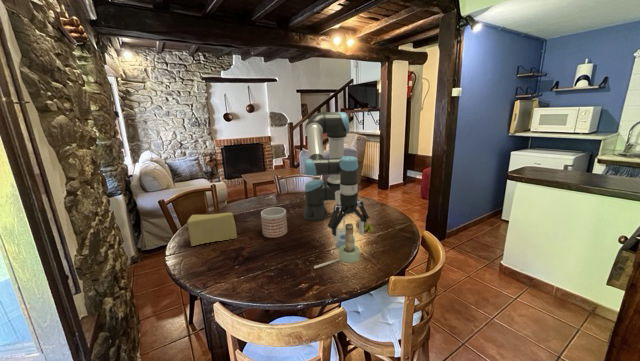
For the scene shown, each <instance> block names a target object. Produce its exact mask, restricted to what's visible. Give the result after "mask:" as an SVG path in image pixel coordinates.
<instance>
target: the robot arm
mask: <svg viewBox="0 0 640 361" xmlns="http://www.w3.org/2000/svg"><path fill="white" fill-rule="evenodd" d="M350 128H351V127H350V119H349V116H348V114H347V112H343V111H332V112H331V111H330V112H319V113H315V114H313V115H312V116H310V118H308V120H307V121H306V123H305V127H304V132H305V135H306V136H307V137H306V138H307V152H308V158H307V159H304V172H305V173H304V174H305V176H310V177H311V176H314V177H315V176H329V177H328V178H327V179H326V181H324V180H323V179H320V178H319V179H312V180H309V181H307V182H306V183H304V184H305V185H304V192H305V194H304V195H305V208H304V210H303V211H304V212H303V218H304V219H305V220H307V221H311V222H313V221H314V222H315V221H316V222H317V221H318V222H319V221H322V220H325V219H326V218H328V210H327V209H326V206H325V202H326V201H335V192H336V191H338V190H340V192H341V193H340V202H341V205H340V206H337V205H334V206H333V210H332V214H331V216H330V219H329V222H328V223H327V227H328V229H331V234H332V235H333V241H334V242H335V244H336V243H338V230H339V228H338V227H339V225H340V224H341V222H343V217H344V216H345V217H346V216H347V215H350V214H353V213H354V214H355V215H356V216H357V217H358V219H361V220H359V230H358V234H360V235H361V236H364V234H365V233H364V232H365V231H364V227H365V225H366V223H365V222H366V221H368V220H369V219H370V215H369V214H368V212H367V210H366V208H365V206H364V201H362V200H361V199H359V198H358V187H359V186H358V185H359V184H358V182H359V180H358V178H359V176H358V174H359V172H358V171H359V163H358V158H357V157H356V156H351V155H346V156H344V154H345V153H344V152H345V151H344V150H345V139H346V138H347V137H348V136H347V134H348V133H351V132H350ZM322 134H323V135H324V134H325V135H326V138H327V139H328V144H329V145H328V147H329V148H328V151H329V152H328V157H329V158H328V157H327V158H326V157H325V151H324V145H323V144H324V143H323V135H322ZM357 207H358V208H359V210H358V209H357ZM359 211H360V212H359ZM343 212H344V213H343ZM361 214H363V216H362V215H361Z"/></svg>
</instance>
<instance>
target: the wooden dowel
mask: <svg viewBox="0 0 640 361" xmlns="http://www.w3.org/2000/svg"><path fill="white" fill-rule="evenodd" d="M353 236H354V224H352V223H345V252H353Z"/></svg>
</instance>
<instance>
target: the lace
mask: <svg viewBox="0 0 640 361" xmlns="http://www.w3.org/2000/svg"><path fill="white" fill-rule="evenodd" d="M339 261H341V260H340V259H339V258H336V259H333V260H329V261H325V262H324V263H320V264H316V265H314V266H313V268H314V269H315V270H316V269H318V268H321V267H325V266H327V265H331V264H333V263H337V262H339Z"/></svg>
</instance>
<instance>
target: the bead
mask: <svg viewBox="0 0 640 361" xmlns="http://www.w3.org/2000/svg"><path fill="white" fill-rule="evenodd" d="M338 259H340V261H341V262H344V263H347V264H349V263H351V264H353V263H357V262H358V261H359V259H360V248H359V247H358V246H357V245H353V252H345V245H343V246H341V247H340V248H339V247H338Z"/></svg>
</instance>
